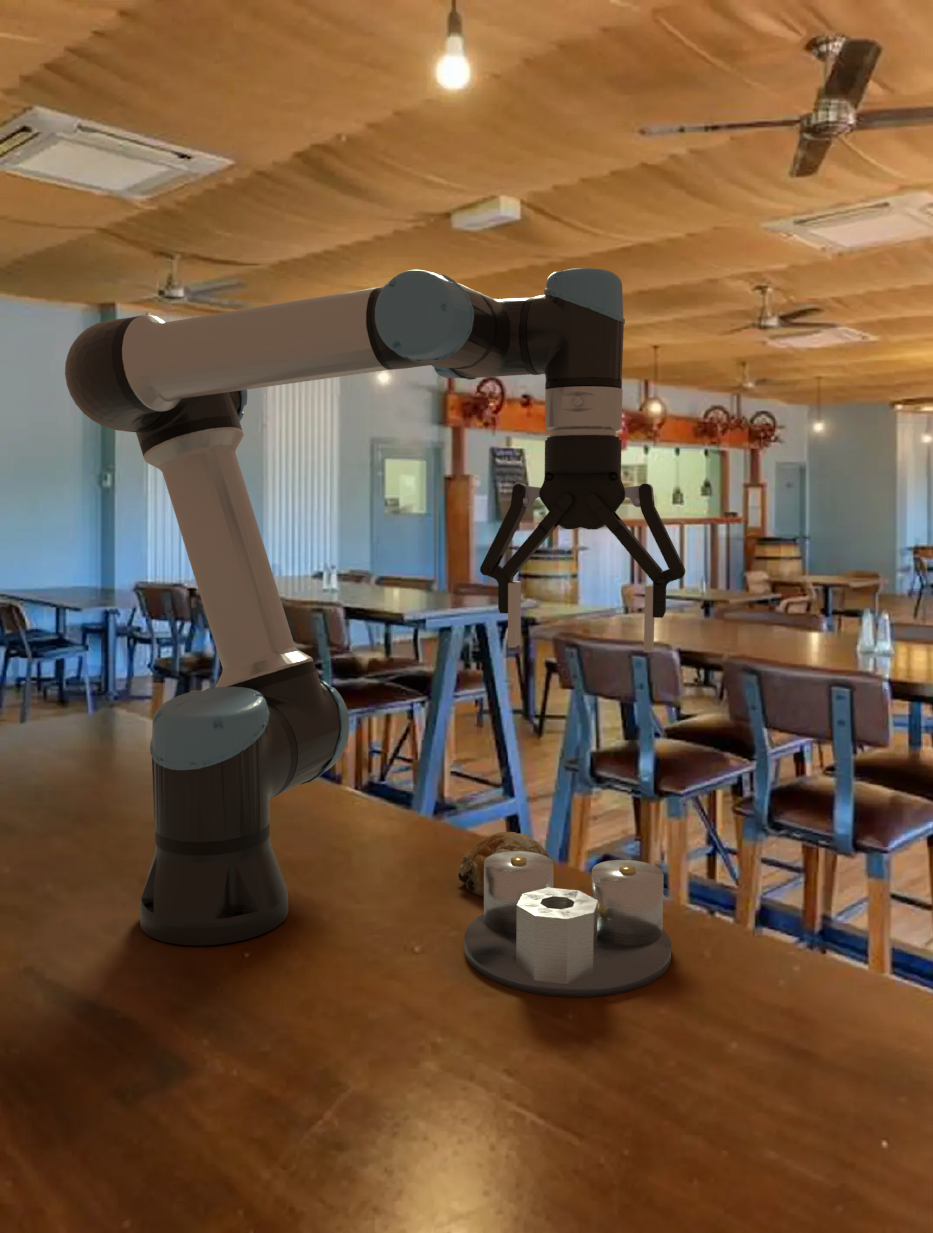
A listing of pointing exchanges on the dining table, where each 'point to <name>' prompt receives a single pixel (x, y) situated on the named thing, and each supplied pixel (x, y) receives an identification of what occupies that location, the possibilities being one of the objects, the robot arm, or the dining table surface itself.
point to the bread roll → (489, 846)
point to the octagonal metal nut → (557, 935)
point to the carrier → (624, 928)
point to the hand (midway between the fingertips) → (580, 648)
